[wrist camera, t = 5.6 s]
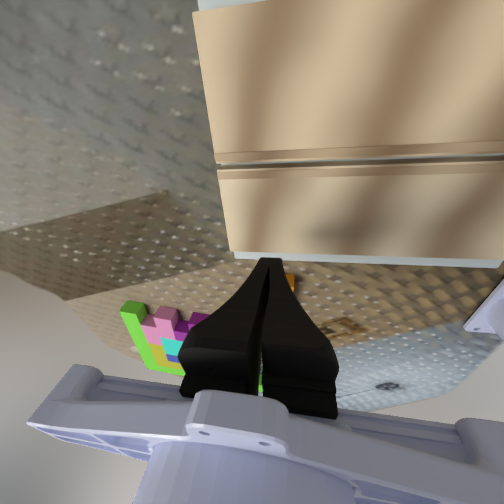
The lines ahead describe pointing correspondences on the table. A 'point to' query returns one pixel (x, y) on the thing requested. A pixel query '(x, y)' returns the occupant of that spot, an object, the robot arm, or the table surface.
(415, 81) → the laid board
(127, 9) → the table surface
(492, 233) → the loose board
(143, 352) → the toy blocks
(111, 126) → the table surface
